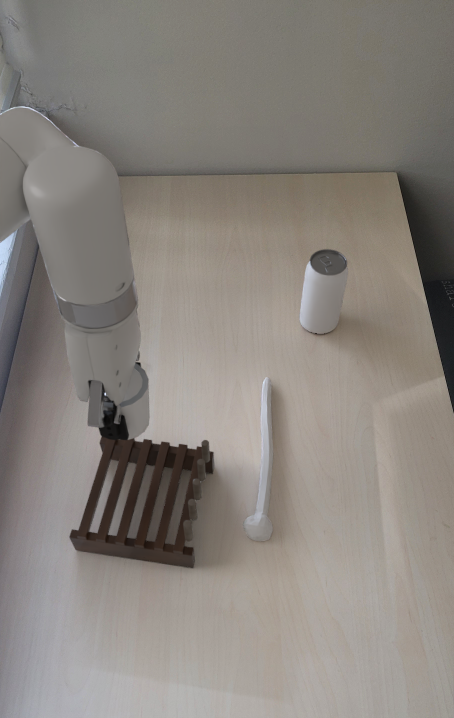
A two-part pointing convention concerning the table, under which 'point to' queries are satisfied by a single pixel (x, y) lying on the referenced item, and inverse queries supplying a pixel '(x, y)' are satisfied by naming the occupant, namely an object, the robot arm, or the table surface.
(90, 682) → the table surface
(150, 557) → the rack
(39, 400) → the table surface
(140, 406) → the white cup
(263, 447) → the white spoon
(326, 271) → the can
